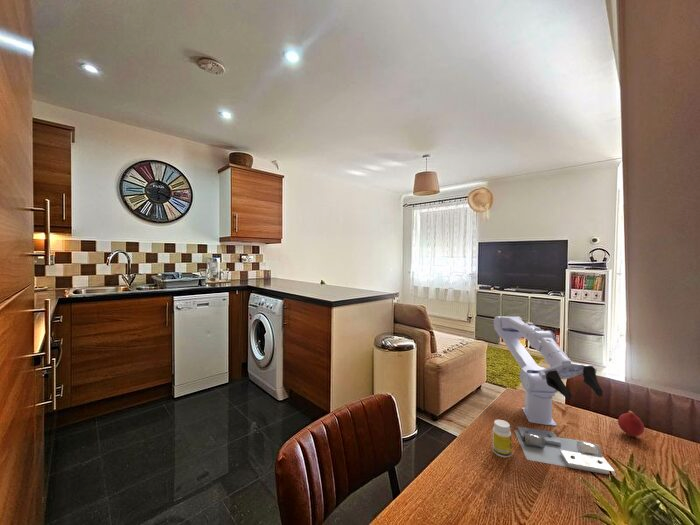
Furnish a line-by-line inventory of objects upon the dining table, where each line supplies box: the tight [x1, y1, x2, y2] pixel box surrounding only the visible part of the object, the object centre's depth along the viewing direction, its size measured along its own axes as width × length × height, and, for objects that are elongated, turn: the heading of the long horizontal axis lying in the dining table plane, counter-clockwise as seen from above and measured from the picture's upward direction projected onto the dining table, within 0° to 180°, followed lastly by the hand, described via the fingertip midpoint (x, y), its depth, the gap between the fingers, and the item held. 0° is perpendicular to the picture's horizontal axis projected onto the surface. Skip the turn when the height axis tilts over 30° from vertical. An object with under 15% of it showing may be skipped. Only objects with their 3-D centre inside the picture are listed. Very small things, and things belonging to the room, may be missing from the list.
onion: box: [617, 410, 645, 438], centre depth 91 cm, size 6×6×8 cm
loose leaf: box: [560, 440, 616, 476], centre depth 80 cm, size 9×10×3 cm
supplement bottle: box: [491, 419, 512, 458], centre depth 83 cm, size 5×5×8 cm
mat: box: [513, 429, 617, 477], centre depth 84 cm, size 14×20×1 cm
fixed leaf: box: [516, 426, 561, 448], centre depth 88 cm, size 9×11×3 cm
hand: (585, 395), depth 79 cm, fingers open, 7 cm apart
